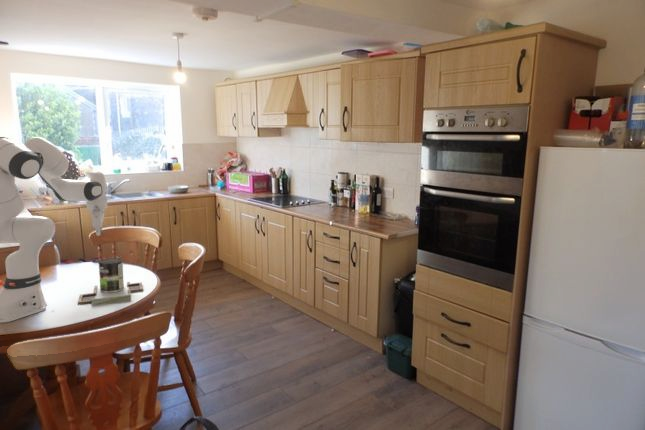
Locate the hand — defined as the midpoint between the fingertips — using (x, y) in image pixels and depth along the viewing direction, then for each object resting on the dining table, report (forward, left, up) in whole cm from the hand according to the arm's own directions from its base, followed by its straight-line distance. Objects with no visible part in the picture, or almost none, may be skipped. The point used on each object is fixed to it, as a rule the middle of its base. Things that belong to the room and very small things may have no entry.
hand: (99, 233), depth 208 cm
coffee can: (-6, -11, -26) cm, 28 cm away
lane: (-12, -16, -25) cm, 32 cm away
